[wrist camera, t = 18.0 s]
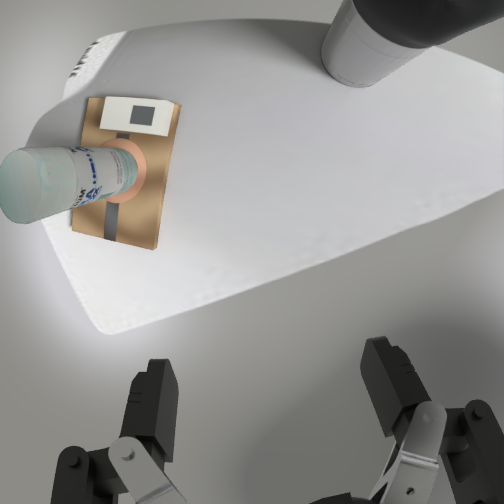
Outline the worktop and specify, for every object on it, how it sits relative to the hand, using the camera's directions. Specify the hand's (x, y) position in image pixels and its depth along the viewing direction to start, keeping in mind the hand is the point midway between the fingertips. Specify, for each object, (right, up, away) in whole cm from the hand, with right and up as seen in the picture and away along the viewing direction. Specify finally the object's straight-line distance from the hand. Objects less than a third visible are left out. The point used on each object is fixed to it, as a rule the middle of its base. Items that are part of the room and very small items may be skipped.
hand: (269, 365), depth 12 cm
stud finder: (-15, +22, +25) cm, 37 cm away
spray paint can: (-19, +15, +27) cm, 37 cm away
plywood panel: (-19, +16, +29) cm, 38 cm away
